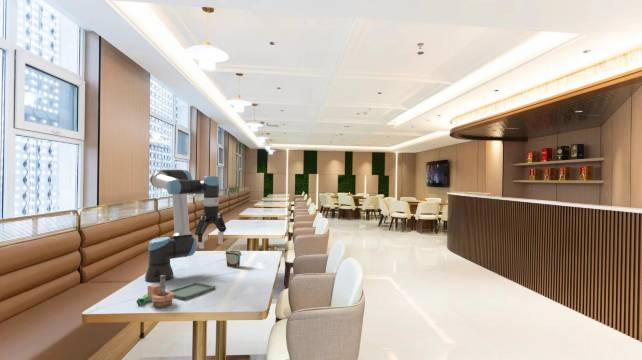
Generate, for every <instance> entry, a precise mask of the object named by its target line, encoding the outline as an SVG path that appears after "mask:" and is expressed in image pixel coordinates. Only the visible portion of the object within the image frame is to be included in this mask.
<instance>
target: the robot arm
mask: <svg viewBox="0 0 642 360" xmlns="http://www.w3.org/2000/svg"><path fill="white" fill-rule="evenodd" d="M149 181H150V183H151V185H152V186H153V187H154V188H156V189H164V190H167V193H168V195H171V196H172V197H171V198H172V209H173V210H172V214H173V225H174V226H173V228H174V233H173V234H172V236H171V238H170V237H169V236H162V237H157V238H153V239H151V240H150V241H148V242H149V243H148V247H147V248H148V249H147V250H148V254H147V255H148V266H147V270H146V273H145V276H144V280H145V281H146V282H151V283H153V282H154V283H156V282H159V283H160V276H161V275H166V277H165V281H168V280H171V279H173V278H174V271H173V268H172V265H171V259H179V258H187V257H191V256H193V255H194V254H195V253H196V250H197V241H198V248H199V249H205V235H204V233H205V232H206V230H207V228H208V227H209V226H210V225H212V224H214V226H215V227H216V228H217V230H218V232H217V244H219V245H223V243H224V233H225V232H226V231H227V227H226V223H225V221H224V219H223V213H219V210H220V209H219V208H220V206H219V202H220V200H219V196H220V195H219V193H220V192H219V191H220V180H219V176H217V175H215V176H213V175H212V176H211V175H207V176H206V175H205V176H204V177H203V179H193V177H192V175H191V172H190V171H188V169H187V170H186V169H160V170H156V171H154V172H153V173H152V174H151V176H150V180H149ZM194 194H195V195H196V194H197V195H198V194H200V195H201V194H203V205H204V206H203V214H204V215H200V216H199V220H198V223H197V226H196V228H195V231H194V235H195V236H197V238H196V237H195V236H194V235H193V233H192V232H191V231H190V219H189V205H188V201H189V200H188V195H194Z"/></svg>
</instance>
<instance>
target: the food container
mask: <svg viewBox="0 0 642 360" xmlns="http://www.w3.org/2000/svg"><path fill="white" fill-rule="evenodd" d="M224 253H225V258H226V260H225V261H226V267H228V268H233V269H239V268H240V266H241V264H240V263H241V256H242V252H241V251H240V250H227V251H225V252H224Z"/></svg>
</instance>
